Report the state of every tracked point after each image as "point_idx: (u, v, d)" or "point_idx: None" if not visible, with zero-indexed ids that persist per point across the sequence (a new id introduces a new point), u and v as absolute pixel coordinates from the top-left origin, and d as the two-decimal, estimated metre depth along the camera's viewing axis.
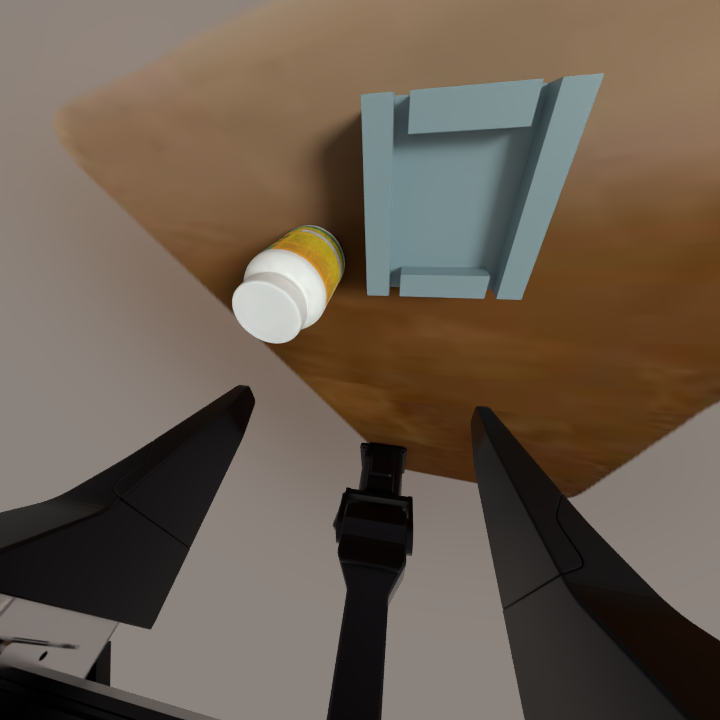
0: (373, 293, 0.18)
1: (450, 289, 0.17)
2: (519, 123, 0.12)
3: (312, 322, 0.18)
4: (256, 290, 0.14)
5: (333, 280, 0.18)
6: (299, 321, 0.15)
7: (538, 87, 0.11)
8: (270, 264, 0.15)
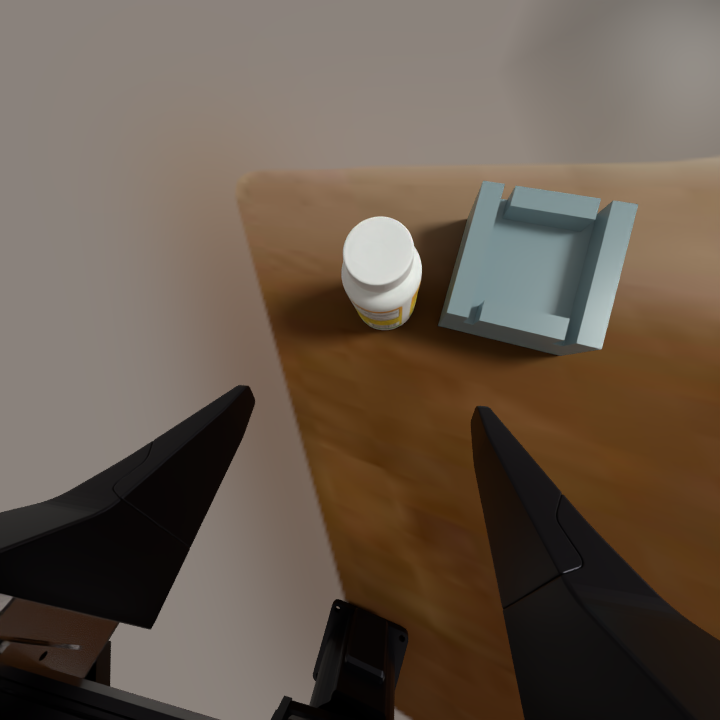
0: (453, 312, 0.19)
1: (530, 323, 0.18)
2: (587, 216, 0.18)
3: (398, 301, 0.17)
4: (382, 224, 0.15)
5: (417, 292, 0.19)
6: (409, 262, 0.14)
7: (597, 202, 0.18)
8: None
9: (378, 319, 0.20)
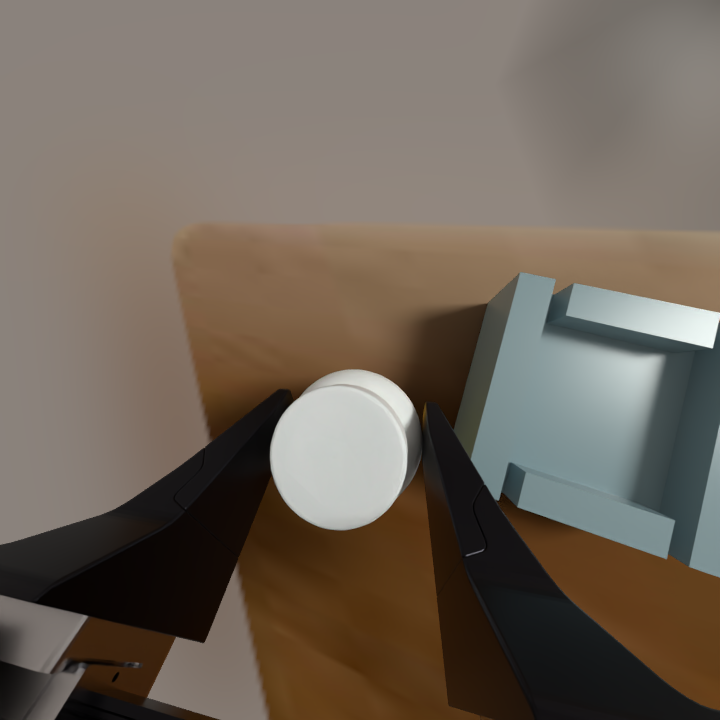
0: None
1: (606, 522, 0.11)
2: (698, 342, 0.11)
3: None
4: (345, 405, 0.08)
5: None
6: (398, 491, 0.07)
7: (715, 318, 0.11)
8: (363, 384, 0.10)
9: None
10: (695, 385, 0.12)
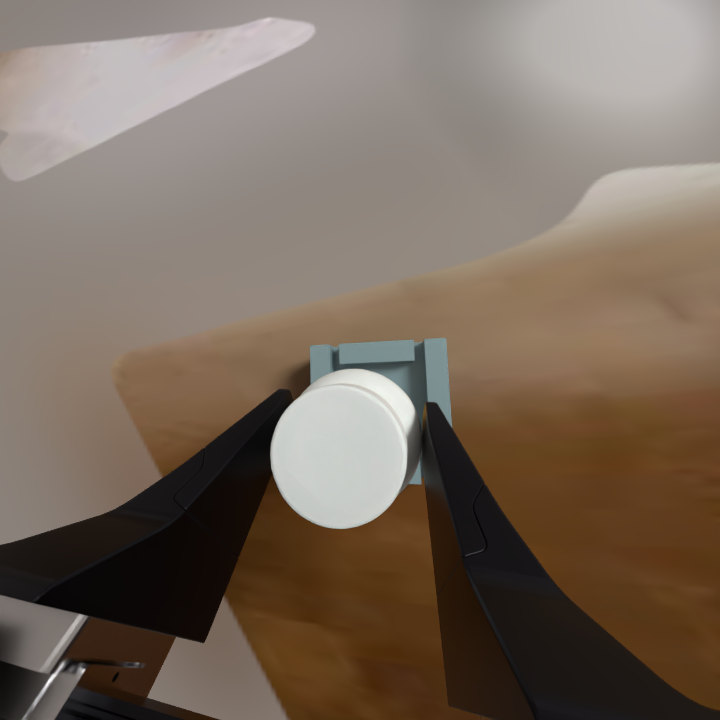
0: None
1: None
2: (407, 359, 0.19)
3: None
4: (345, 404, 0.08)
5: None
6: (398, 489, 0.07)
7: (412, 343, 0.19)
8: (363, 383, 0.10)
9: None
10: (425, 378, 0.20)
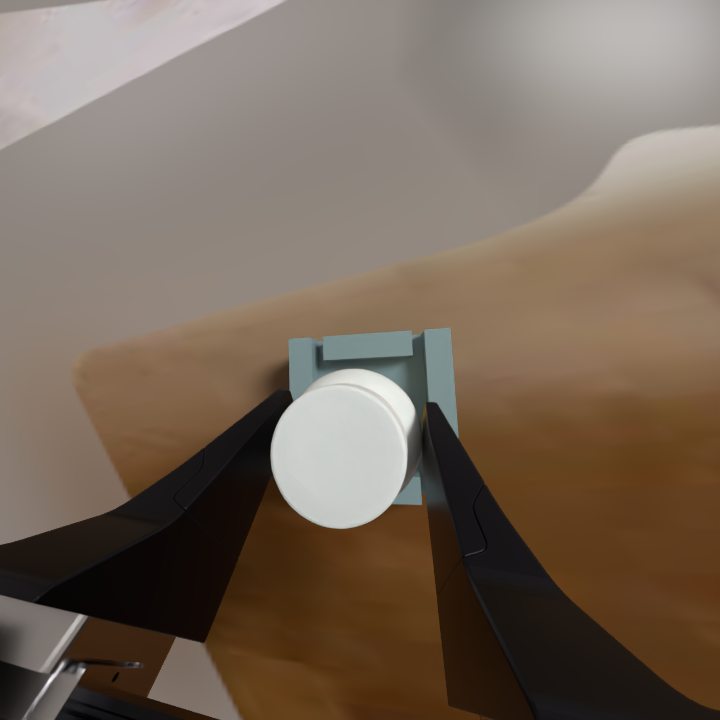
0: None
1: None
2: (404, 353, 0.16)
3: None
4: (345, 404, 0.08)
5: None
6: (398, 489, 0.07)
7: (409, 334, 0.16)
8: (363, 383, 0.10)
9: None
10: (425, 377, 0.17)
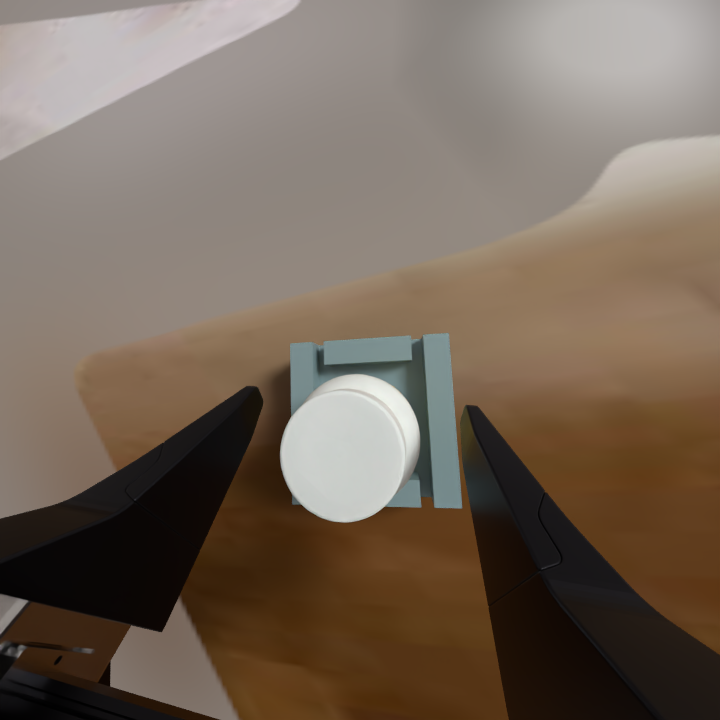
0: None
1: None
2: (403, 358, 0.16)
3: None
4: (349, 408, 0.08)
5: None
6: (397, 486, 0.08)
7: (409, 339, 0.16)
8: (365, 388, 0.10)
9: None
10: (424, 381, 0.17)
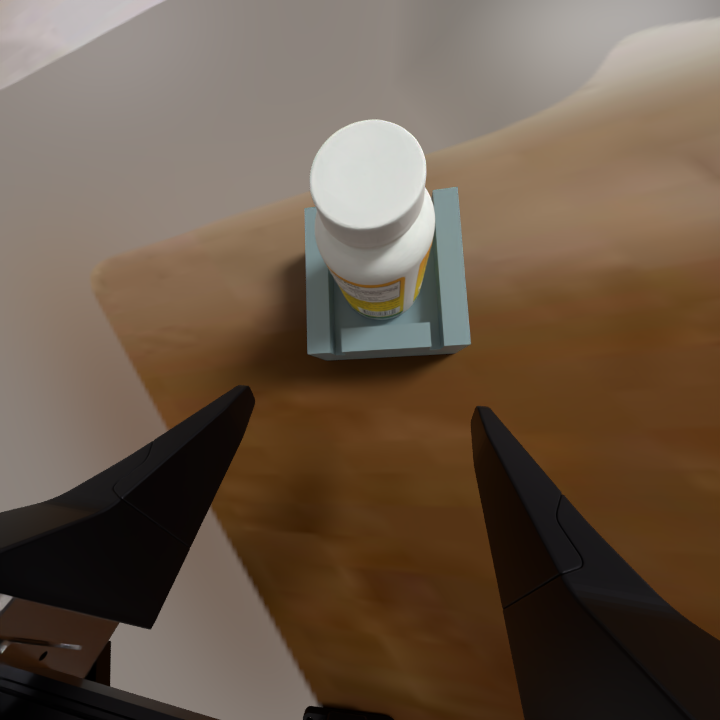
0: (314, 351, 0.17)
1: (393, 339, 0.16)
2: None
3: (399, 266, 0.11)
4: (373, 132, 0.09)
5: (426, 262, 0.14)
6: (419, 191, 0.09)
7: None
8: None
9: (370, 300, 0.14)
10: (433, 242, 0.18)
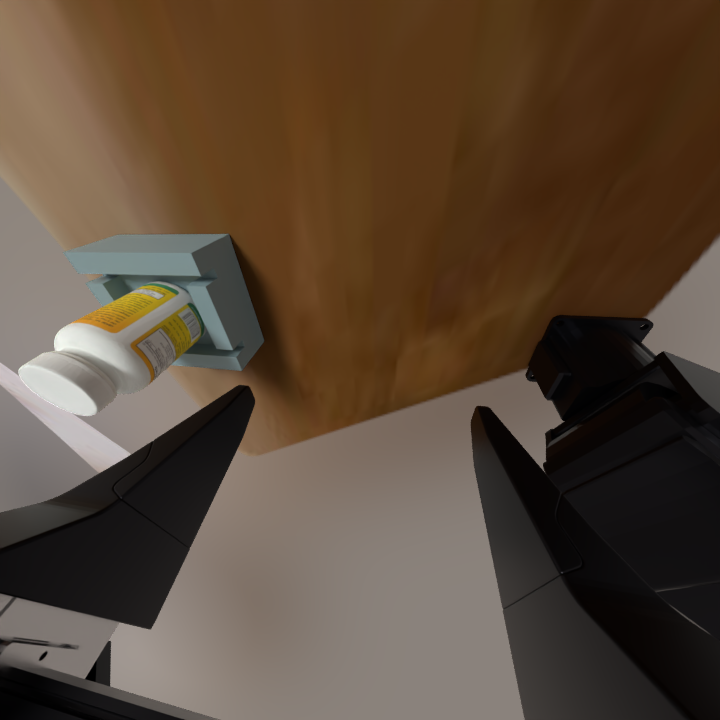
0: (238, 366, 0.23)
1: (210, 314, 0.20)
2: (105, 290, 0.20)
3: (119, 355, 0.15)
4: (33, 386, 0.15)
5: (124, 309, 0.17)
6: (49, 371, 0.13)
7: (89, 284, 0.20)
8: None
9: (170, 348, 0.18)
10: None
